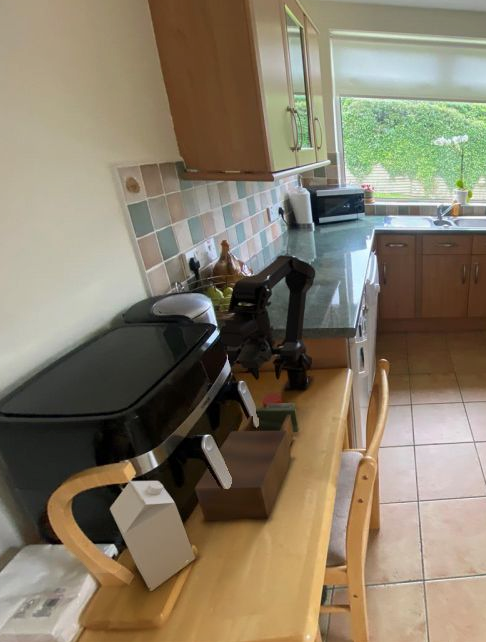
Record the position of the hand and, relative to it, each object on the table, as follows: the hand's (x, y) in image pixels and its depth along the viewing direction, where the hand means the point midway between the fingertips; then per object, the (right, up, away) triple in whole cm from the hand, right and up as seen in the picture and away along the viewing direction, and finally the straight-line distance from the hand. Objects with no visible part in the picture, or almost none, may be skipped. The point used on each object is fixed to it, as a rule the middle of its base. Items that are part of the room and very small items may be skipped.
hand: (267, 378), depth 100 cm
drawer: (+4, -15, -6) cm, 17 cm away
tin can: (0, -11, +5) cm, 12 cm away
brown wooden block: (+4, -21, -17) cm, 28 cm away
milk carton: (-4, -27, -32) cm, 43 cm away
